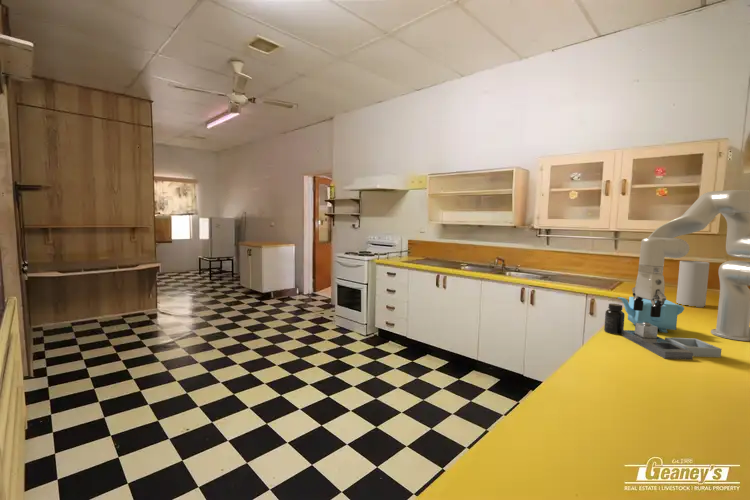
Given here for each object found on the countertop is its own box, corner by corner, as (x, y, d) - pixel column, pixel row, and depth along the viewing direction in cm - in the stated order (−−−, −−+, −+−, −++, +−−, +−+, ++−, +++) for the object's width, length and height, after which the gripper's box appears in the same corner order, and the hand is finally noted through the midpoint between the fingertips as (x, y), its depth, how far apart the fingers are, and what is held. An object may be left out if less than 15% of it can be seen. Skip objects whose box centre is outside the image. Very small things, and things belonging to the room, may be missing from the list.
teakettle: (685, 331, 153) (688, 298, 152) (662, 337, 145) (665, 302, 144) (637, 320, 170) (639, 290, 169) (614, 325, 162) (616, 293, 160)
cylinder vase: (671, 303, 206) (675, 261, 204) (682, 301, 211) (686, 260, 209) (699, 308, 195) (703, 263, 193) (709, 306, 200) (713, 262, 198)
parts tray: (695, 346, 135) (695, 338, 135) (720, 357, 124) (721, 349, 124) (664, 345, 136) (665, 337, 136) (687, 355, 125) (688, 347, 125)
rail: (622, 336, 146) (622, 330, 146) (644, 336, 145) (645, 330, 145) (664, 358, 122) (665, 351, 122) (692, 359, 122) (693, 352, 121)
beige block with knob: (647, 340, 141) (648, 321, 140) (656, 344, 136) (657, 325, 135) (634, 340, 142) (635, 320, 141) (642, 344, 137) (644, 324, 136)
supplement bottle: (626, 335, 147) (628, 307, 146) (608, 334, 148) (610, 306, 147) (618, 330, 154) (620, 303, 153) (601, 329, 155) (603, 302, 154)
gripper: (678, 273, 127) (673, 320, 129) (645, 267, 145) (641, 308, 146) (656, 272, 128) (651, 319, 129) (626, 266, 145) (622, 307, 147)
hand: (646, 313), depth 138 cm, fingers open, 9 cm apart
